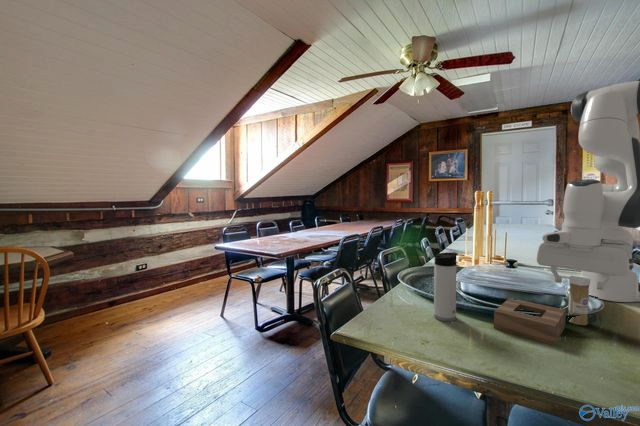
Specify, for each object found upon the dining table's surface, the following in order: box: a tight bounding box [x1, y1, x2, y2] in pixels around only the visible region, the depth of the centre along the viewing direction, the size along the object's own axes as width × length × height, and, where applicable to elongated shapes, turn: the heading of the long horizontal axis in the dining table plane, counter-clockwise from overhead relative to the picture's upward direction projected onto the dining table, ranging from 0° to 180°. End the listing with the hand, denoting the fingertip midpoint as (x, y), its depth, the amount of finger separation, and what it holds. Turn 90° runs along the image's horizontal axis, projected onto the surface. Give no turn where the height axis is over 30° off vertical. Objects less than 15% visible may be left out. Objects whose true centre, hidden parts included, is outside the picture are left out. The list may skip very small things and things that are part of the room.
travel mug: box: [433, 252, 459, 322], centre depth 97 cm, size 6×7×20 cm
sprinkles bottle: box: [568, 274, 590, 326], centre depth 91 cm, size 5×5×13 cm
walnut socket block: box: [493, 298, 567, 346], centre depth 89 cm, size 14×14×5 cm
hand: (578, 285), depth 91 cm, fingers open, 8 cm apart
